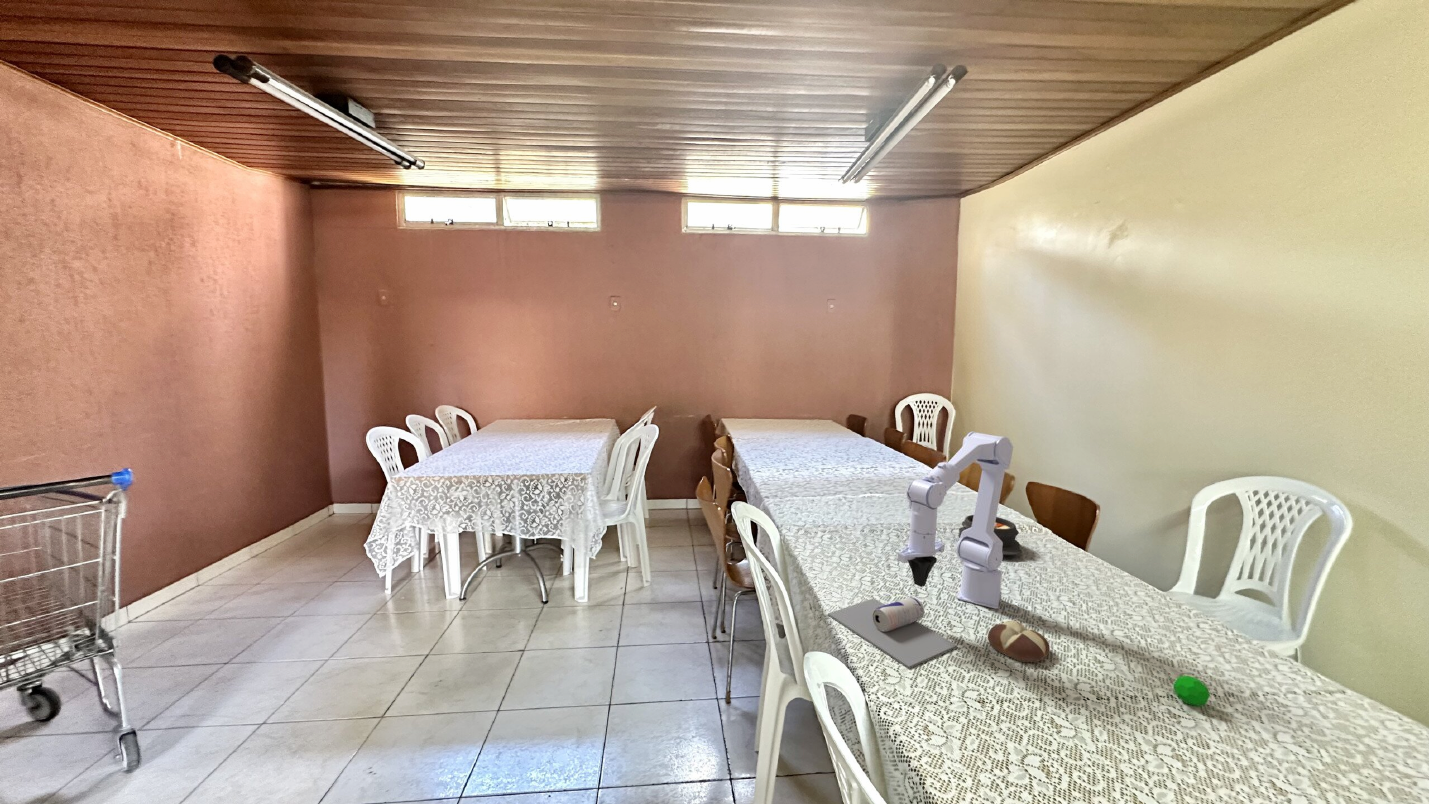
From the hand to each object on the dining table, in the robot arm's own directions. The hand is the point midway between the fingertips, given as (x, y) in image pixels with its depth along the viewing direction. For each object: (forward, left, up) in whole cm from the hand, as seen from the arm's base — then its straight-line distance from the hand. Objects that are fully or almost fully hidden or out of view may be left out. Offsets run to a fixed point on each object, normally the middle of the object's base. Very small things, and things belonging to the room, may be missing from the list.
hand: (919, 584), depth 124 cm
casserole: (-9, -65, -9) cm, 66 cm away
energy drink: (0, 0, -6) cm, 6 cm away
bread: (-21, 0, -9) cm, 23 cm away
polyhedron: (-49, +1, -9) cm, 50 cm away
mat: (+4, +9, -9) cm, 13 cm away
